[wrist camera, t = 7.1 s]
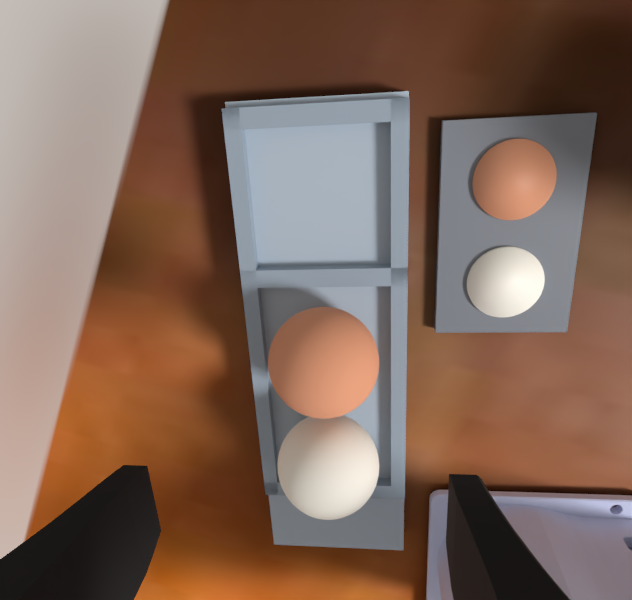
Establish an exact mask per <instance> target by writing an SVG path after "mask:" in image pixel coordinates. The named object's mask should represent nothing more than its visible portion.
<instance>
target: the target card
mask: <svg viewBox="0 0 632 600" xmlns="http://www.w3.org/2000/svg"><path fill="white" fill-rule="evenodd" d="M596 118H597V113H594V112H591V113H572V114H553V115H534V116H515V117H496V118H477V119H458V120H441V148H440V178H439V208H438V238H437V268H436V298H435V327H434V329H435V332H436V333H466V332H567V329H568V321H569V314H570V307H571V300H572V292H573V285H574V278H575V271H576V263H577V256H578V249H579V242H580V234H581V227H582V220H583V213H584V205H585V198H586V191H587V184H588V176H589V169H590V162H591V155H592V147H593V140H594V133H595V126H596Z"/></svg>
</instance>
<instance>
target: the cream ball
mask: <svg viewBox="0 0 632 600" xmlns="http://www.w3.org/2000/svg"><path fill="white" fill-rule="evenodd" d="M277 463H278V477H279V481H280V484H281V487H282V489H283V491H284V493H285V495H286V496H287V498H288V499H289V501H290V502H291V503H292V504H293V505H294V506H295V507H296V508H297V509H299V510H300V511H301V512H303V513H305V514H306V515H308V516H311V517H314V518H317V519H322V520H335V519H340V518H344V517H346V516H349V515H351V514H353V513H354V512H356V511H357V510H359V509H360V508H361V507H362V506H363V505H364V504H365V503H366V502H367V501H368V500H369V498H370V497H371V495H372V493H373V491H374V489H375V487H376V484H377V480H378V476H379V458H378V453H377V449H376V447H375V444H374V442H373V440H372V439H371V437H370V435H369V434H368V432H367V431H366V430H365V429H364V428H363V427H362V426H361V425H360V424H359V423H357V422H356V421H354V420H353V419H351V418H349V417H346V416H344V415H342V416H339V417H335V418H327V419H320V418H312V417H307V418H305V419H304V420H302V421H300V422H299V423H298V424H296V425H295V426H294V427H293V428H292V429H291V430H290V431H289V433H288V434H287V436H286V437H285V439H284V441H283V443H282V445H281V448H280V451H279V456H278V462H277Z"/></svg>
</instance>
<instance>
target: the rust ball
mask: <svg viewBox="0 0 632 600" xmlns="http://www.w3.org/2000/svg"><path fill="white" fill-rule="evenodd" d="M268 370H269V375H270V379H271V382H272V384H273V387H274V389H275V391H276V392H277V394H278V395H279V397H280V398H281V399H282V400H283V401H284V402H285V403H286V404H287V405H288V406H289V407H290V408H292V409H293V410H295V411H296V412H298V413H300V414H303V415H305V416H309V417H312V418H320V419H327V418H335V417H339V416H342V415H345V414H347V413H349V412H351V411H353V410H354V409H356V408H357V407H358V406H359V405H361V404H362V403H363V402H364V401H365V400H366V398H367V397H368V396H369V394H370V393H371V391H372V389H373V387H374V385H375V383H376V380H377V376H378V372H379V354H378V350H377V346H376V343H375V340H374V338H373V336H372V335H371V333H370V331H369V330H368V329H367V327H366V326H365V325H364V324H363V323H362V322H361V321H360V320H359V319H357V318H356V317H355V316H353V315H351V314H350V313H348V312H346V311H343V310H341V309H337V308H332V307H315V308H310V309H307V310H304V311H301V312H299V313H297V314H295V315H294V316H292V317H291V318H289V319H288V320H287V321H286V322H285V323H284V324H283V325H282V326H281V327H280V329H279V330H278V332H277V333H276V335H275V337H274V339H273V341H272V343H271V346H270V350H269V356H268Z"/></svg>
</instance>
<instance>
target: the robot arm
mask: <svg viewBox="0 0 632 600" xmlns="http://www.w3.org/2000/svg"><path fill="white" fill-rule="evenodd" d="M614 505H617V506H616V507H613V508H611V507H612V506H614ZM160 532H161V528H160V524H159V519H158V514H157V510H156V505H155V500H154V496H153V491H152V486H151V482H150V477H149V472H148V468H147V466H131V465H123V466H122V467H121V468H119V469H118V470H116V471H115V472H114V473H112V474H111V475H110V476H109V477H107V478H106V479H105V480H104V481H102V482H101V483H100V484H98V485H97V486H96V487H95V488H94V489H92V490H91V491H90V492H89V493H87V494H86V495H85V496H84V497H82V498H81V499H80V500H79V501H77V502H76V503H75V504H73V505H72V506H71V507H70V508H68V509H67V510H66V511H65V512H63V513H62V514H61V515H59V516H58V517H57V518H56V519H54V520H53V521H52V522H51V523H49V524H48V525H47V526H45V527H44V528H43V529H41V530H40V531H39V532H37V533H36V534H34V535H33V536H32V537H30V538H29V539H28V540H26V541H25V542H24V543H22V544H21V545H19V546H18V547H17V548H16V549H14V550H13V551H11V552H10V553H9V554H7V555H6V556H5V557H3V558H2V559H0V600H134V598H135V596H136V594H137V592H138V590H139V588H140V585H141V583H142V581H143V579H144V577H145V575H146V573H147V570H148V567H149V564H150V562H151V559H152V556H153V553H154V550H155V547H156V544H157V541H158V538H159V535H160ZM426 600H632V495H602V494H570V493H538V492H505V491H488V489H487V488H486V486H485V484H484V483H483V481H482V479H481V478H480V477H479V476H477V475H459V474H449V489H448V490H436V491H434V492H432V493H431V494H430V498H429V526H428V555H427V585H426Z"/></svg>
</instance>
